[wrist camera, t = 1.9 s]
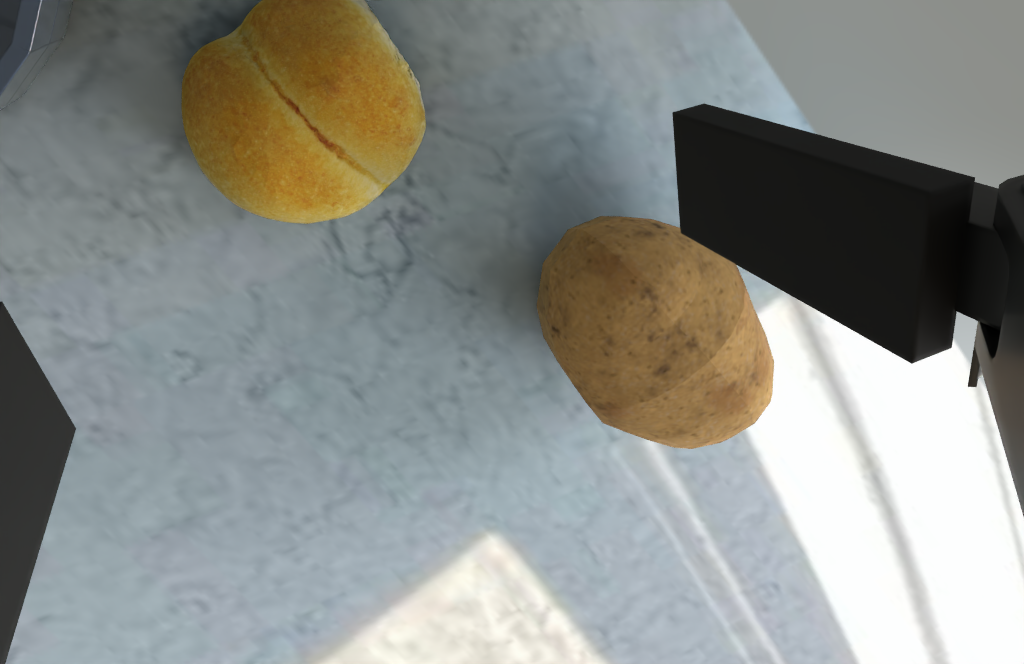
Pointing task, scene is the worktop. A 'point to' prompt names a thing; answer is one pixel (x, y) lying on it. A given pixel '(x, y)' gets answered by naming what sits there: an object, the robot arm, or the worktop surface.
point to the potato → (655, 332)
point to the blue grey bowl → (28, 42)
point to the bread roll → (303, 110)
